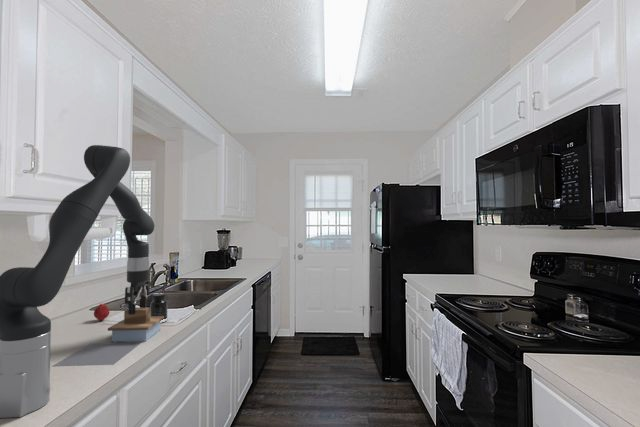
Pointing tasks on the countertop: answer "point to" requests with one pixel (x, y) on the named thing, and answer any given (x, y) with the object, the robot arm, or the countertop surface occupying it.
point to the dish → (135, 334)
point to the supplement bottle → (158, 306)
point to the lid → (136, 320)
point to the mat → (98, 354)
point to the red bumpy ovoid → (101, 312)
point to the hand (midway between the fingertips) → (137, 311)
